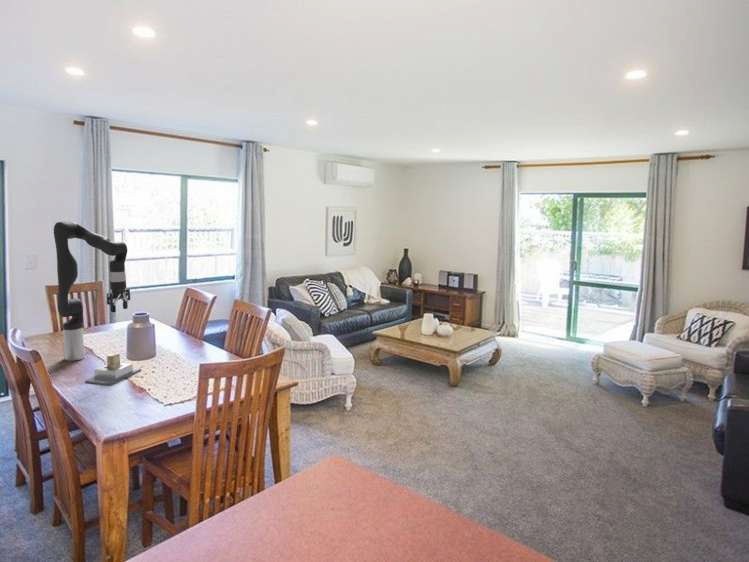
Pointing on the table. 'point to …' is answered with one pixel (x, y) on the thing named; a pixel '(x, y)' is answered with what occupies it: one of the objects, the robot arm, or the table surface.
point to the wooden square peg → (113, 361)
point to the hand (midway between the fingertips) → (119, 310)
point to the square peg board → (112, 374)
